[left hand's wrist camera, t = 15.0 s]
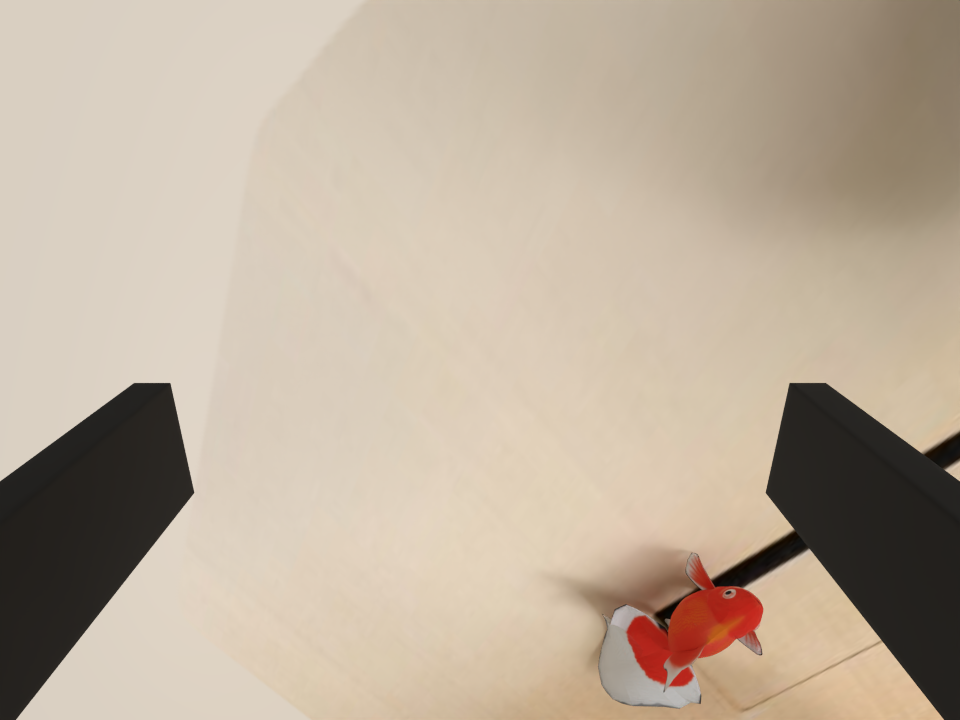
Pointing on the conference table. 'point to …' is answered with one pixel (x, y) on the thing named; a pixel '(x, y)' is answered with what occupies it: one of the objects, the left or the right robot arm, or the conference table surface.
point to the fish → (675, 643)
